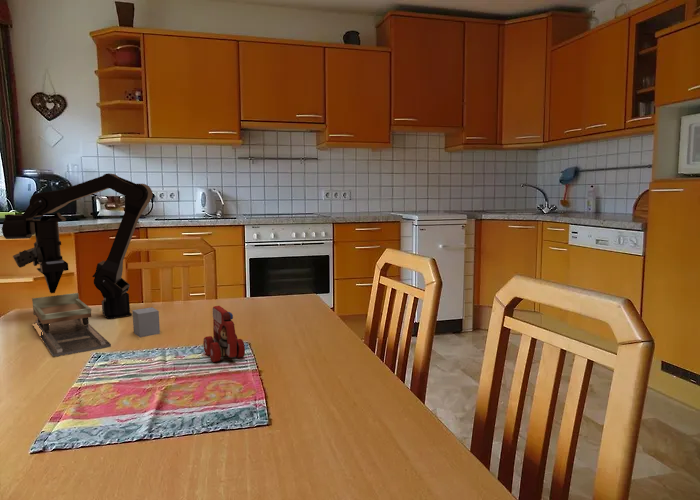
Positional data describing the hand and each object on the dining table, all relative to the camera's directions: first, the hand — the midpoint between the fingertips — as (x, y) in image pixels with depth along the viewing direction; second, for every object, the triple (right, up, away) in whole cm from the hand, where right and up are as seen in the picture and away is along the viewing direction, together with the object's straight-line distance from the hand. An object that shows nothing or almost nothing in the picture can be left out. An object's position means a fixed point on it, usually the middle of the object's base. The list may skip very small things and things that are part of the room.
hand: (52, 293), depth 149 cm
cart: (+8, -7, -10) cm, 15 cm away
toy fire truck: (+56, -11, -32) cm, 66 cm away
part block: (+32, -9, -15) cm, 36 cm away
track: (+13, -9, -16) cm, 22 cm away
